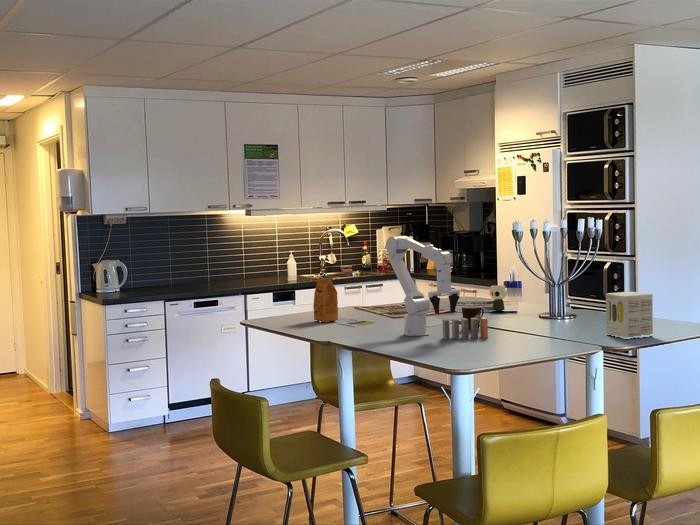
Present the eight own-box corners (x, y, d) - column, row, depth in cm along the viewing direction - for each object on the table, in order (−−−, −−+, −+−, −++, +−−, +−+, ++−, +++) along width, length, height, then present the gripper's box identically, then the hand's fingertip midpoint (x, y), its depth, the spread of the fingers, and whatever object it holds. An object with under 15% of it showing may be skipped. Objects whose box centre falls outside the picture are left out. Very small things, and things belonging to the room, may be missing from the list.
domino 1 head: (445, 340, 344) (444, 320, 344) (442, 338, 349) (442, 319, 349) (449, 339, 345) (449, 320, 344) (447, 338, 350) (446, 319, 349)
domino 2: (464, 339, 345) (464, 319, 345) (461, 337, 350) (461, 318, 350) (468, 339, 345) (468, 319, 345) (465, 337, 350) (465, 318, 350)
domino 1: (455, 339, 345) (454, 320, 344) (452, 337, 350) (451, 318, 349) (459, 339, 345) (458, 320, 345) (456, 337, 350) (456, 318, 349)
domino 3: (474, 338, 346) (473, 319, 345) (471, 336, 351) (470, 317, 350) (478, 338, 346) (477, 319, 345) (475, 336, 351) (474, 317, 350)
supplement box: (605, 335, 343) (604, 293, 342) (631, 333, 348) (631, 291, 347) (626, 340, 331) (626, 296, 330) (653, 337, 335) (653, 293, 334)
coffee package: (328, 319, 418) (327, 275, 416) (340, 322, 407) (339, 276, 406) (310, 321, 413) (309, 276, 412) (322, 324, 402) (321, 278, 401)
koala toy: (485, 311, 430) (485, 286, 429) (494, 309, 434) (493, 284, 433) (502, 312, 421) (502, 287, 421) (511, 311, 426) (511, 285, 425)
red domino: (483, 338, 346) (483, 319, 346) (480, 336, 351) (480, 317, 350) (487, 338, 346) (487, 318, 346) (484, 336, 351) (484, 317, 351)
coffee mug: (466, 331, 366) (466, 308, 365) (459, 328, 374) (458, 306, 374) (491, 329, 369) (490, 306, 368) (483, 326, 377) (482, 304, 377)
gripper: (434, 282, 343) (435, 315, 343) (463, 279, 349) (464, 312, 350) (425, 281, 349) (426, 313, 350) (454, 279, 355) (455, 310, 356)
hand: (444, 313), depth 350 cm, fingers open, 7 cm apart
